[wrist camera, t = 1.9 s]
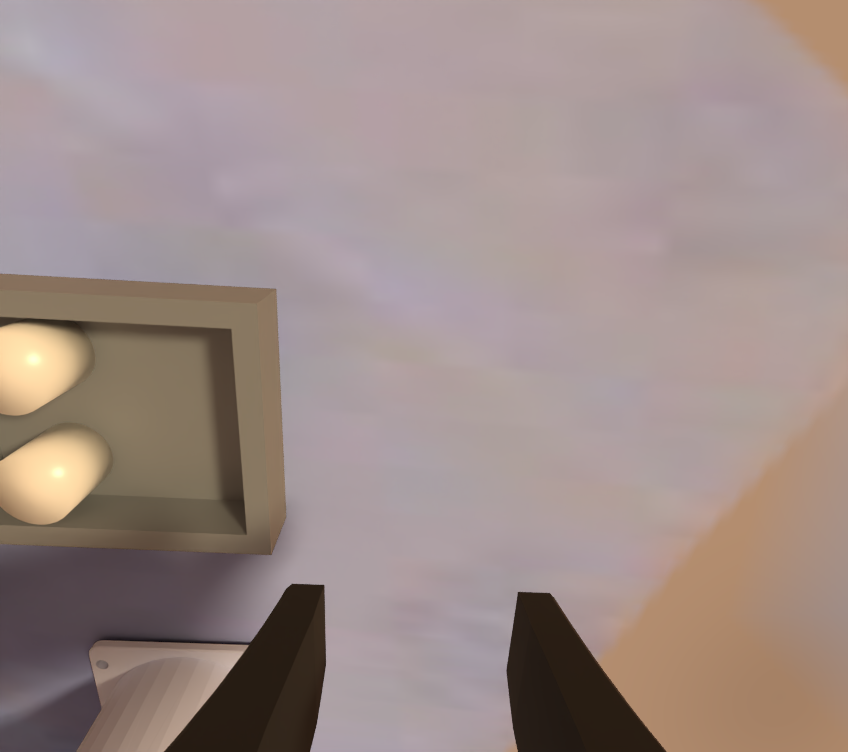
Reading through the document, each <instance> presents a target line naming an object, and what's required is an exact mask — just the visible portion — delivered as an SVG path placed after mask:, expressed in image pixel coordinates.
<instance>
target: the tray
mask: <svg viewBox="0 0 848 752" xmlns="http://www.w3.org/2000/svg"><path fill="white" fill-rule="evenodd" d="M285 519H286V500H285V477H284V454H283V432H282V409H281V386H280V364H279V341H278V318H277V295H276V289H268V288H250V287H232V286H214V285H196V284H178V283H159V282H141V281H123V280H105V279H87V278H69V277H51V276H33V275H15V274H0V544H12V545H37V546H62V547H87V548H112V549H137V550H162V551H187V552H212V553H236V554H261V555H271V554H272V552H273V549H274V547H275V544H276V542H277V539H278V537H279V534H280V532H281V529H282V526H283V524H284V521H285Z"/></svg>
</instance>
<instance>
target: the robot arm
mask: <svg viewBox="0 0 848 752" xmlns="http://www.w3.org/2000/svg"><path fill="white" fill-rule="evenodd" d="M89 657H90V661H91V666H92V670H93V674H94V678H95V682H96V687H97V691H98V695H99V699H100V703H101V707H102V709H101V711H100V713H99V714H98V716H97V718H96V719H95V721H94V723H93V724H92V726H91V728H90V730H89V731H88V733H87V735H86V736H85V738H84V740H83V741H82V743H81V745H80V746H79V748H78V750H77V751H76V752H310V749H311V745H312V741H313V737H314V733H315V729H316V725H317V719H318V713H319V707H320V700H321V694H322V687H323V681H324V674H325V667H326V645H325V596H324V585H310V584H292V585H290V586H289V587H288V588H286V590H285V592H284V593H283V595H282V597H281V598H280V600H279V602H278V603H277V605H276V606H275V608H274V609H273V611H272V613H271V614H270V616H269V617H268V619H267V620H266V622H265V623H264V625H263V626H262V627H261V629H260V630H259V632H258V633H257V635H256V636H255V637H254V639H253V640H252V642H251V643H250V645H232V644H201V643H171V642H141V641H111V640H102V641H97V642H95V643H94V645H93V646H92V648H91V649H90V651H89ZM507 679H508V688H509V698H510V706H511V714H512V722H513V730H514V735H515V740H516V744H517V749H518V752H666V751H665V749H664V748H663V747H662V746H661V744H660V743H659V742H658V741H657V739H656V738H655V737H654V736H653V735H652V733H651V732H650V731H649V730H648V728H647V727H646V726H645V725H644V724H643V722H642V721H641V720H640V718H639V717H638V716H637V715H636V713H635V712H634V711H633V709H632V708H631V707H630V706H629V704H628V703H627V702H626V700H625V699H624V698H623V696H622V695H621V694H620V692H619V691H618V690H617V688H616V687H615V686H614V684H613V683H612V681H611V680H610V679H609V677H608V676H607V675H606V673H605V672H604V671H603V669H602V668H601V667H600V665H599V664H598V662H597V661H596V660H595V658H594V657H593V655H592V654H591V652H590V651H589V650H588V648H587V647H586V645H585V644H584V642H583V641H582V639H581V638H580V636H579V635H578V633H577V632H576V631H575V629H574V628H573V626H572V625H571V623H570V622H569V620H568V619H567V617H566V615H565V614H564V612H563V611H562V609H561V608H560V606H559V605H558V603H557V602H556V600H555V598H554V597H553V596H552V595H551V594H550V593H531V592H518V596H517V603H516V610H515V617H514V623H513V630H512V637H511V644H510V650H509V657H508V664H507Z"/></svg>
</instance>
